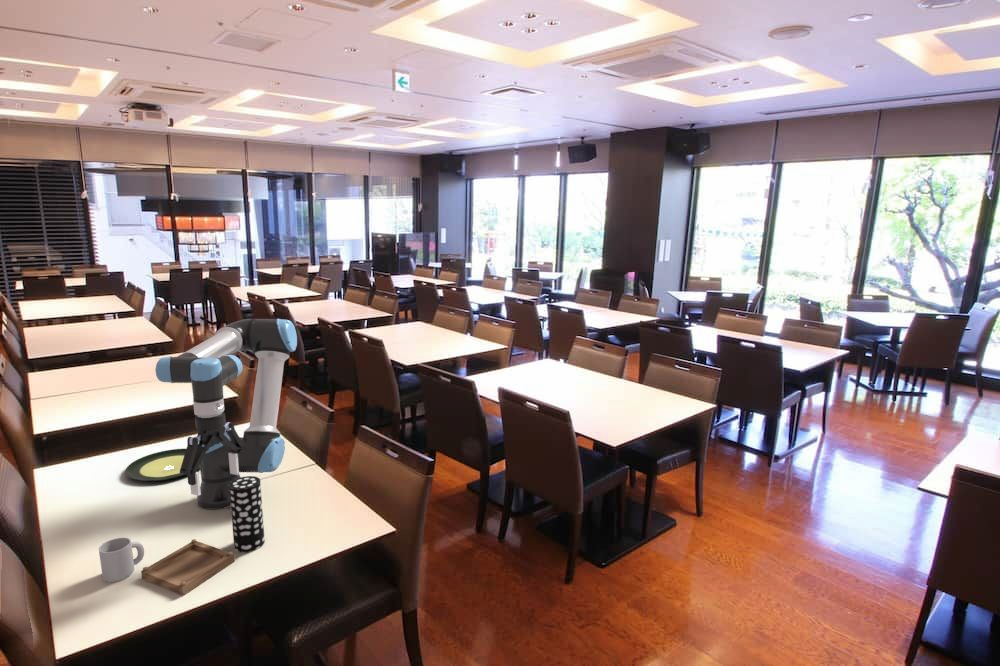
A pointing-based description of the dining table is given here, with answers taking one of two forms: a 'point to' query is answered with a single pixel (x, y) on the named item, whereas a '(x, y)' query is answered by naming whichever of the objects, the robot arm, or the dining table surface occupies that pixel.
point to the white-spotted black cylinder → (246, 513)
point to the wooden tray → (187, 567)
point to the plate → (157, 466)
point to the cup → (119, 558)
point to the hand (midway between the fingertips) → (216, 483)
